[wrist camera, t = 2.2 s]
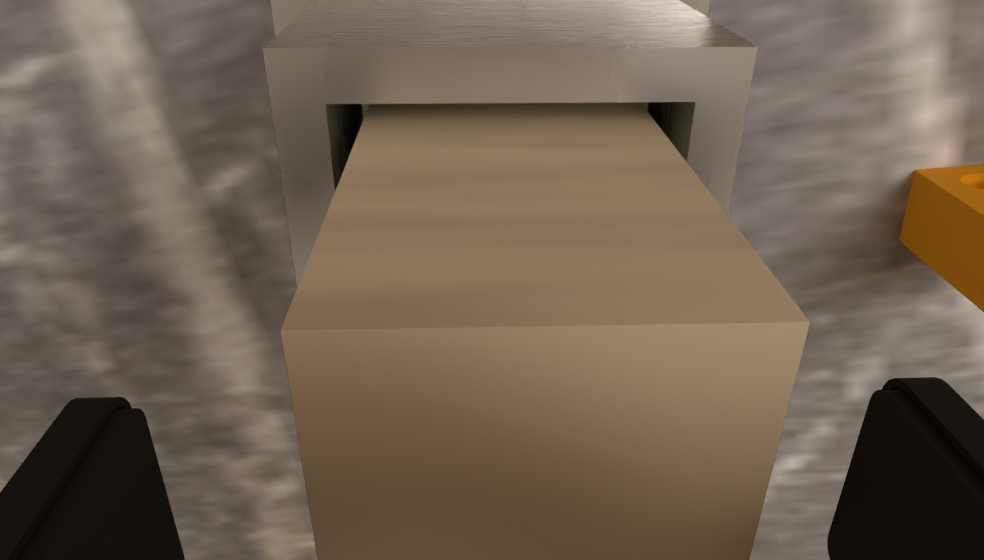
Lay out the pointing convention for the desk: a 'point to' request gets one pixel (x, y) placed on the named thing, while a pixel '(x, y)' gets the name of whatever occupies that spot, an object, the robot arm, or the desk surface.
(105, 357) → the desk surface
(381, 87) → the sleeve
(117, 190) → the desk surface
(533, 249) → the column
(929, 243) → the pipe clamp
